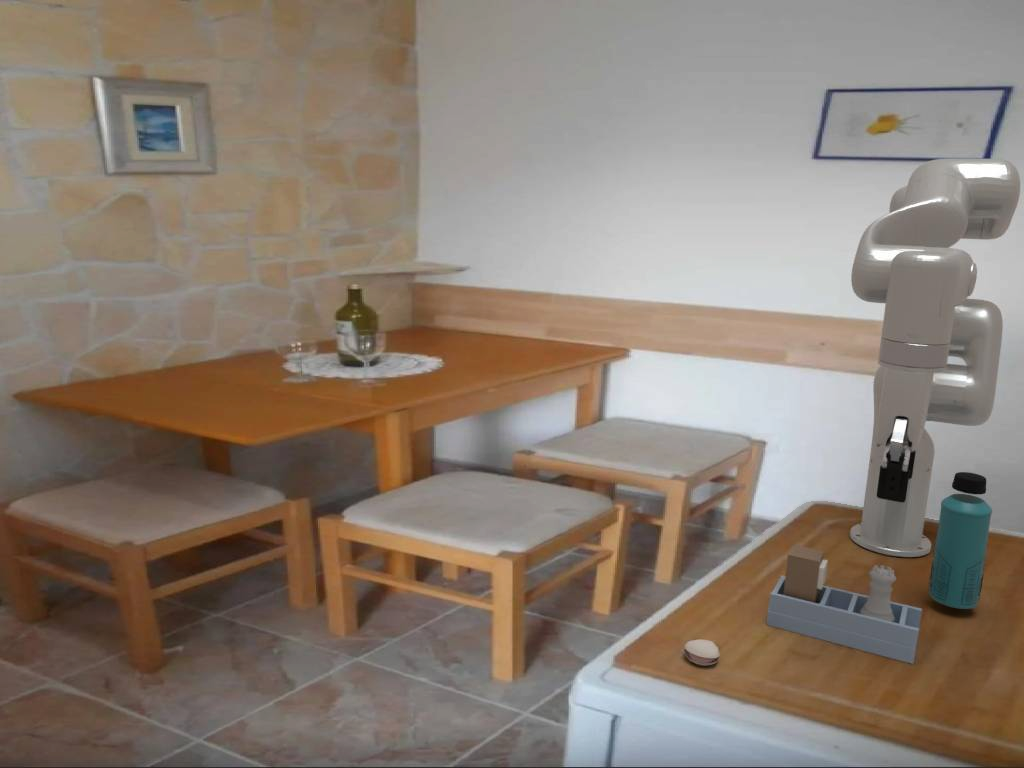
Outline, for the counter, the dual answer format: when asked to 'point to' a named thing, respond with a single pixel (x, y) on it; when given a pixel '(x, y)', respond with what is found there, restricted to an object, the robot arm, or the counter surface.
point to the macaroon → (702, 652)
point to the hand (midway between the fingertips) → (894, 487)
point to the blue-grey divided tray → (837, 611)
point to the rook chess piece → (880, 594)
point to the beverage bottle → (961, 544)
